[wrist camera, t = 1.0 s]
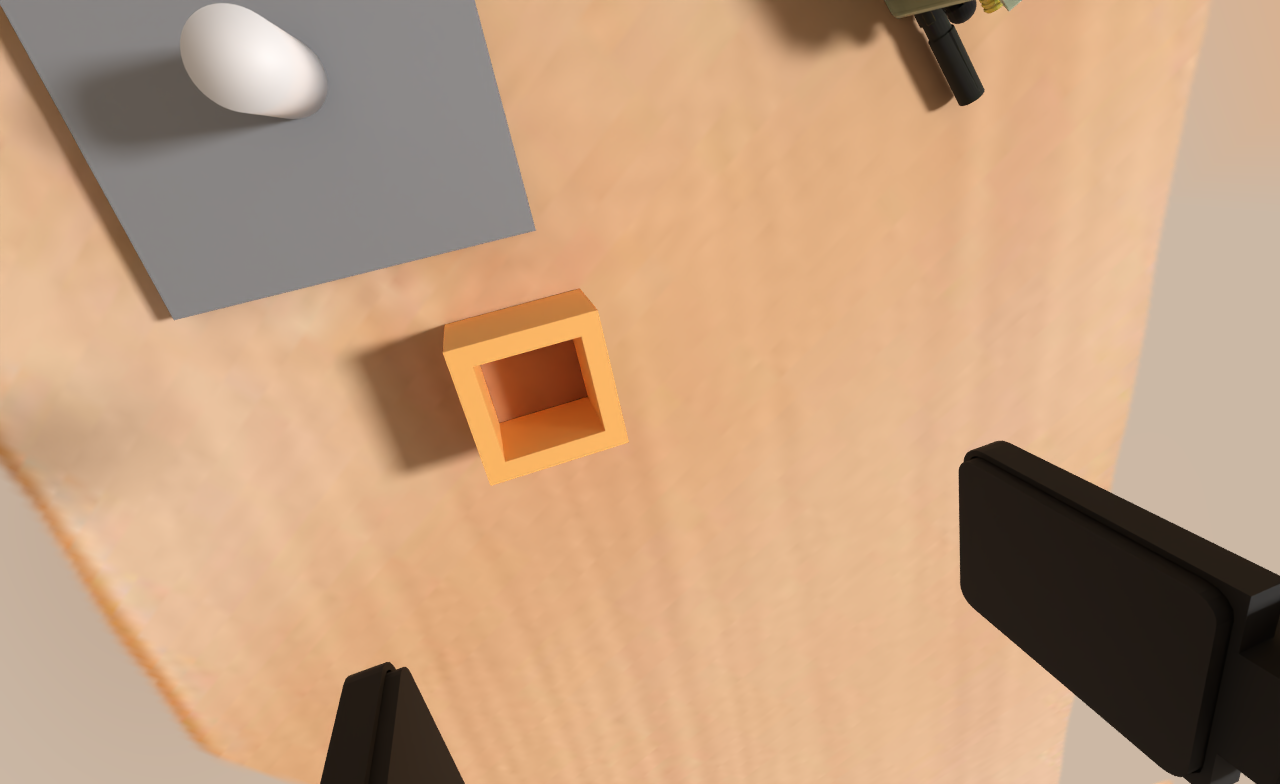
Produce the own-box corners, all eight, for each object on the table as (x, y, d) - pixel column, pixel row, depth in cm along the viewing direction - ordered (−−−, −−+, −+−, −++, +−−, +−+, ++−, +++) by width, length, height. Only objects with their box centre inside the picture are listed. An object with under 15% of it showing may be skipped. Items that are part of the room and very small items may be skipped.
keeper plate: (-60, -136, 20) (-288, -258, 14) (420, -196, 23) (406, -321, 17) (183, 314, 27) (101, 365, 21) (533, 227, 30) (553, 250, 24)
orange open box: (444, 324, 30) (442, 352, 26) (579, 288, 32) (597, 310, 28) (486, 444, 33) (490, 485, 29) (609, 407, 34) (628, 442, 30)
